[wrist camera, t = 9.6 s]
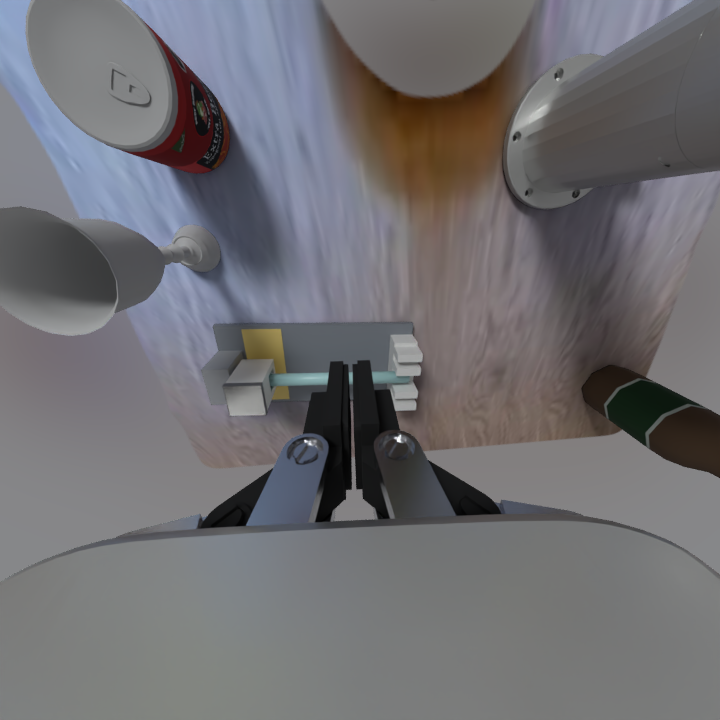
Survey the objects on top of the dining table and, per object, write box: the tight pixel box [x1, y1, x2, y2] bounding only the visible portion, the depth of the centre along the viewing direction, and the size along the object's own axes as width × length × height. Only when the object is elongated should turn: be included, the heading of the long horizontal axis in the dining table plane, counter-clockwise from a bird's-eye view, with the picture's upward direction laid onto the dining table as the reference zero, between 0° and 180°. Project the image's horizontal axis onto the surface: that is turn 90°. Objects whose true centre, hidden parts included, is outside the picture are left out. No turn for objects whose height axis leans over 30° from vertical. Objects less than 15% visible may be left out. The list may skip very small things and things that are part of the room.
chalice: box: [0, 207, 221, 336], centre depth 23 cm, size 7×7×18 cm
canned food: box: [26, 0, 230, 173], centre depth 21 cm, size 8×8×11 cm
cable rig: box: [201, 322, 423, 411], centre depth 36 cm, size 26×12×6 cm, turn 89°
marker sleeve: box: [222, 359, 277, 416], centre depth 33 cm, size 4×4×6 cm
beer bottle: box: [582, 365, 720, 478], centre depth 34 cm, size 8×8×24 cm
